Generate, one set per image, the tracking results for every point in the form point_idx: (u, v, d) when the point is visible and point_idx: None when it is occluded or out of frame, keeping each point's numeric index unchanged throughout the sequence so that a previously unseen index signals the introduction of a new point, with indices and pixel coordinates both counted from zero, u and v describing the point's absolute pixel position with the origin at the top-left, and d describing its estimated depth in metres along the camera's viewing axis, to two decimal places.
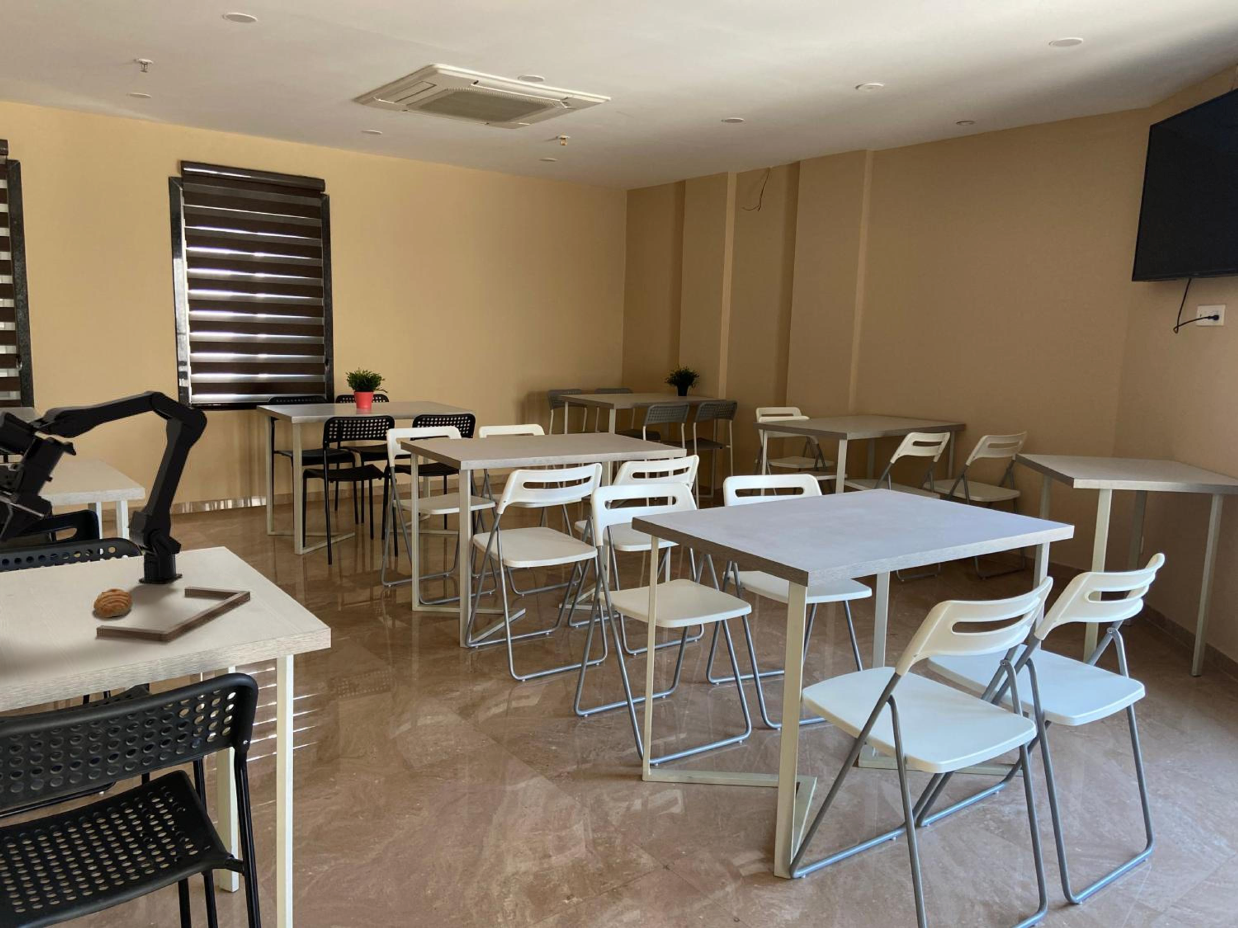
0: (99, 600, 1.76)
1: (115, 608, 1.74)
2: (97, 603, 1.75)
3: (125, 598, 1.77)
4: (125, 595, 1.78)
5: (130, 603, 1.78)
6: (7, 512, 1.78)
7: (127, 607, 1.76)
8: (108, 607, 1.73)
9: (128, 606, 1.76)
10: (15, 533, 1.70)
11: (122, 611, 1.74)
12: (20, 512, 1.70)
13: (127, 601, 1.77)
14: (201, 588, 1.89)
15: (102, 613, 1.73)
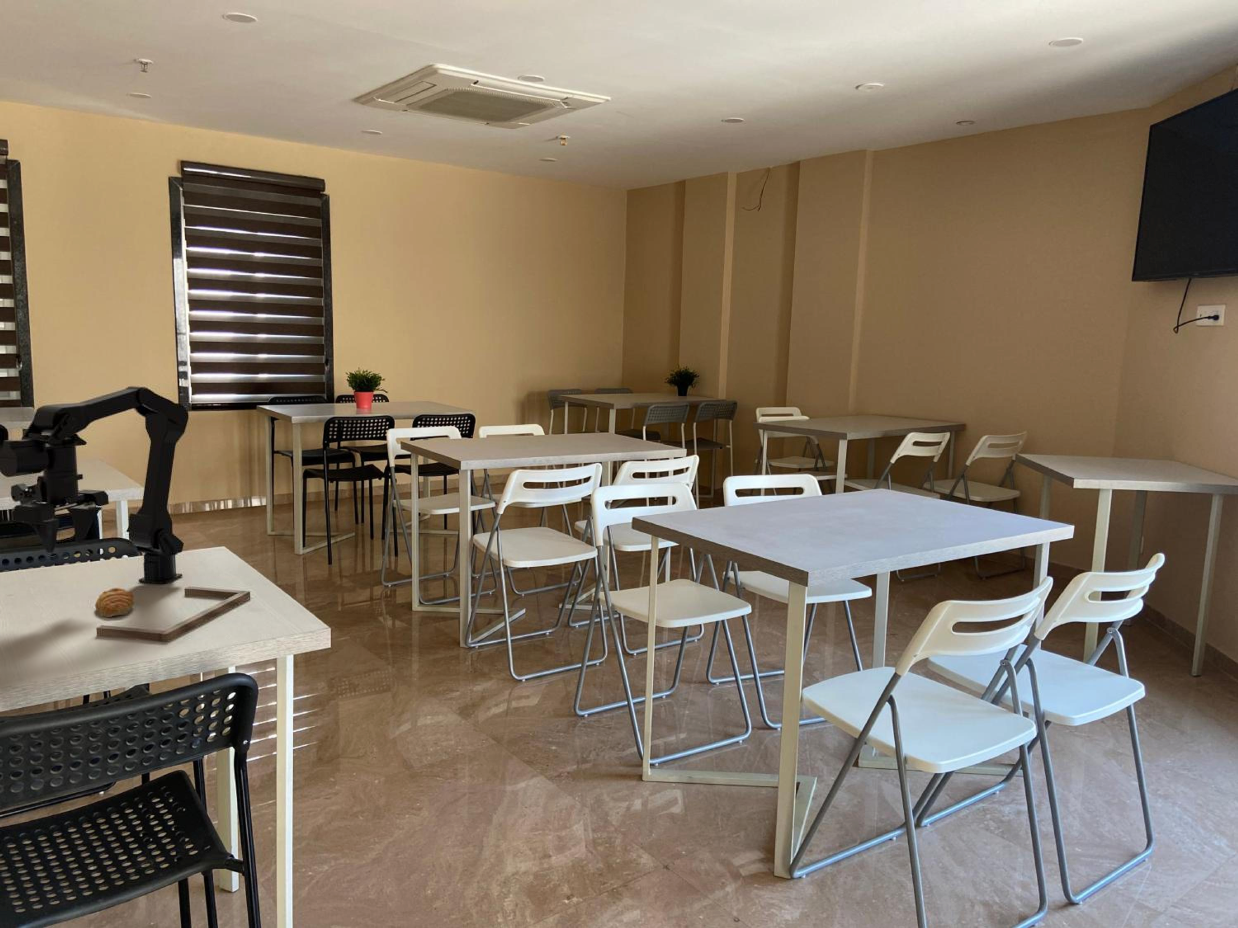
0: (101, 599, 1.76)
1: (117, 607, 1.74)
2: (99, 602, 1.75)
3: (127, 597, 1.77)
4: (127, 594, 1.78)
5: (132, 602, 1.78)
6: (86, 517, 1.81)
7: (129, 606, 1.76)
8: (110, 606, 1.74)
9: (130, 605, 1.77)
10: (50, 542, 1.72)
11: (124, 611, 1.74)
12: None
13: (129, 600, 1.77)
14: (201, 588, 1.89)
15: (105, 613, 1.73)
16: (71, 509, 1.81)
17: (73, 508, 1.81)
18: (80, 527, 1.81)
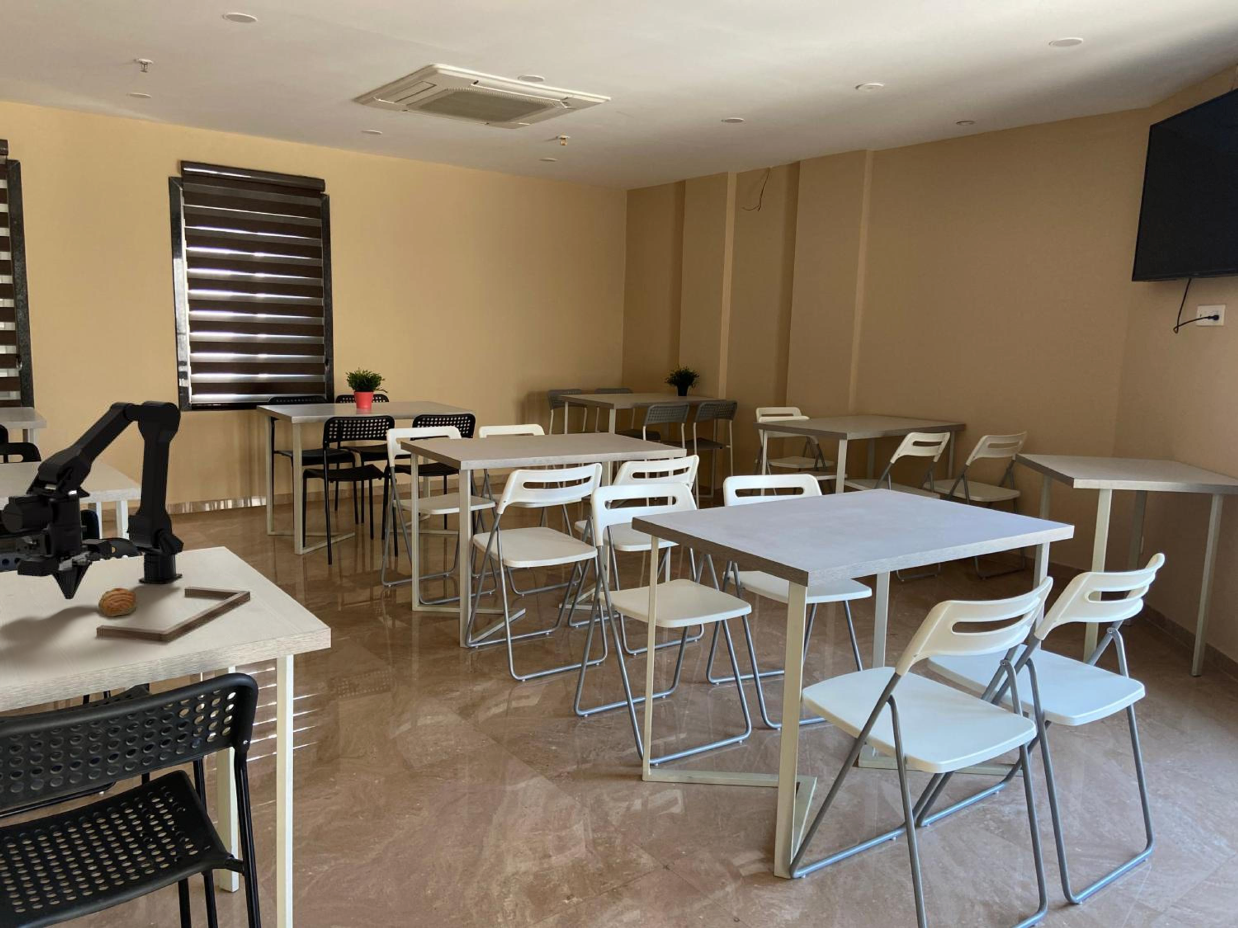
0: (104, 599, 1.76)
1: (121, 607, 1.74)
2: (102, 602, 1.76)
3: (130, 597, 1.78)
4: (130, 594, 1.79)
5: (135, 602, 1.79)
6: (77, 572, 1.79)
7: (133, 606, 1.77)
8: (114, 606, 1.74)
9: (134, 605, 1.77)
10: (69, 589, 1.78)
11: (128, 610, 1.75)
12: None
13: (132, 600, 1.78)
14: (201, 588, 1.89)
15: (109, 612, 1.74)
16: None
17: None
18: None
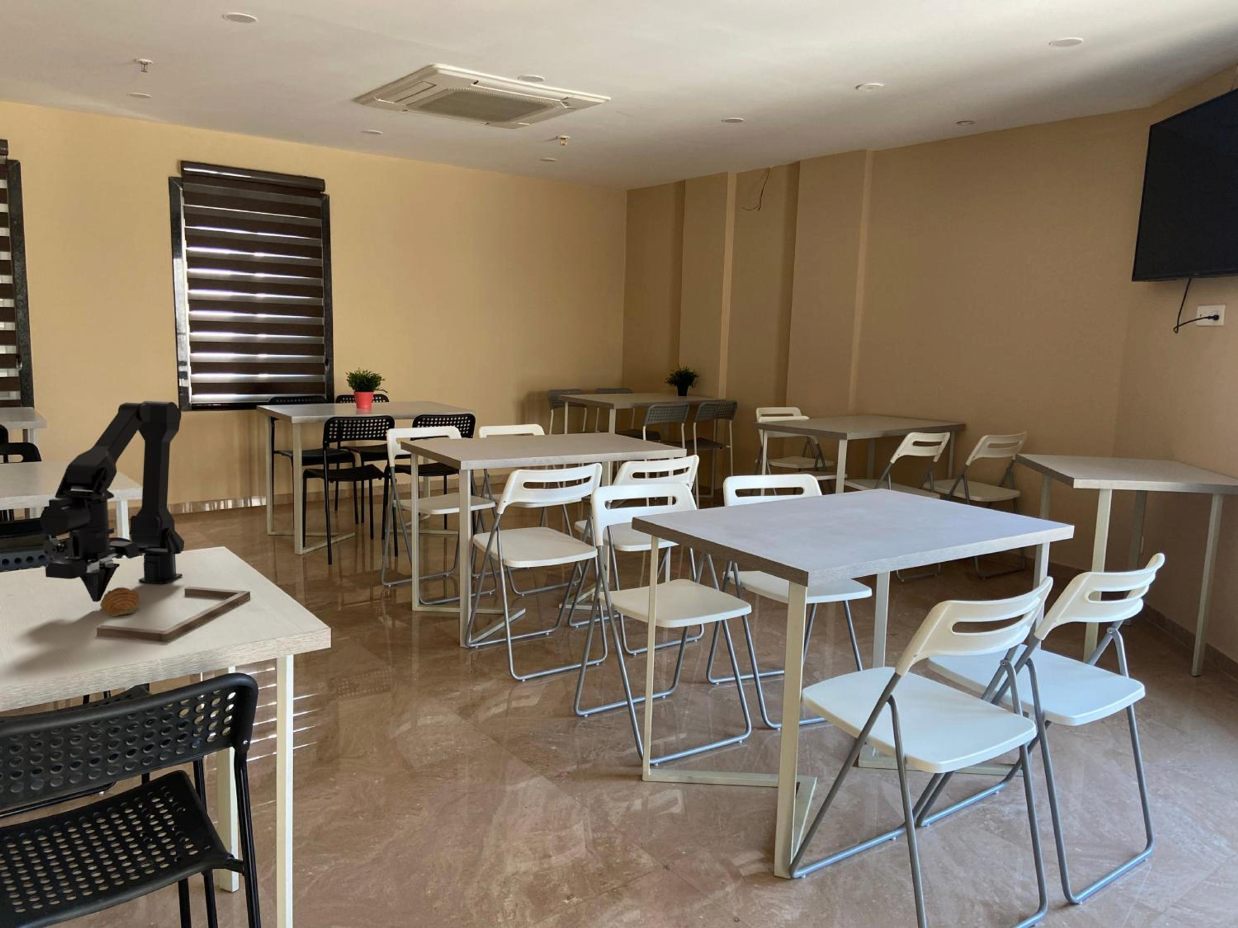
0: (107, 599, 1.76)
1: (124, 606, 1.75)
2: (105, 602, 1.76)
3: (133, 596, 1.78)
4: (132, 593, 1.79)
5: (138, 601, 1.79)
6: (104, 575, 1.78)
7: (135, 605, 1.77)
8: (117, 605, 1.74)
9: (136, 604, 1.77)
10: (96, 592, 1.77)
11: (131, 609, 1.75)
12: None
13: (135, 599, 1.78)
14: (201, 588, 1.89)
15: (111, 612, 1.74)
16: None
17: None
18: None
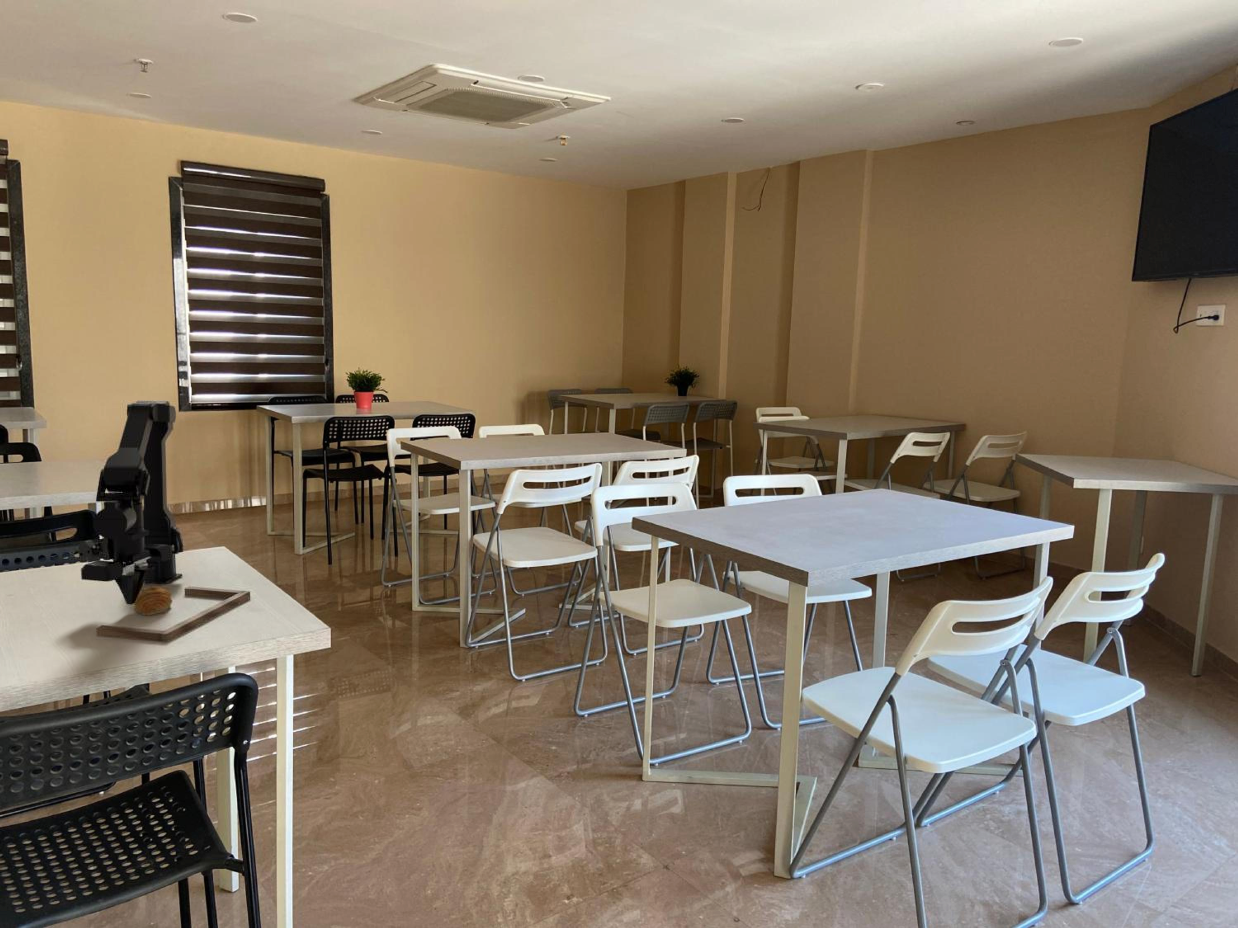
0: (140, 598, 1.78)
1: (156, 606, 1.76)
2: (138, 601, 1.77)
3: (165, 596, 1.79)
4: (165, 593, 1.80)
5: (170, 601, 1.80)
6: (138, 577, 1.76)
7: (167, 605, 1.78)
8: (149, 605, 1.75)
9: (168, 604, 1.78)
10: (131, 594, 1.75)
11: (162, 609, 1.76)
12: None
13: (167, 599, 1.79)
14: (201, 588, 1.89)
15: (143, 611, 1.75)
16: None
17: None
18: None
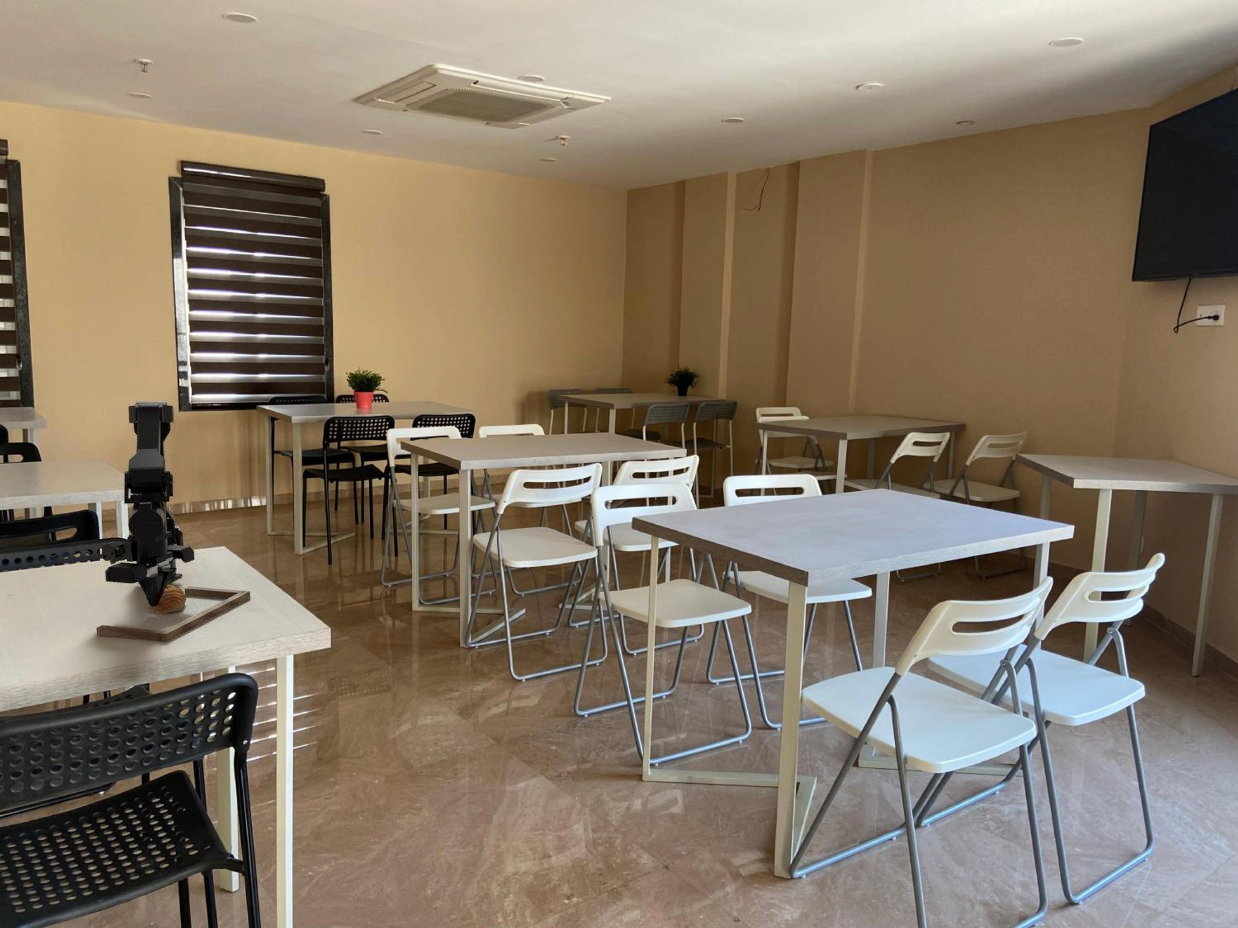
0: None
1: (172, 604, 1.77)
2: None
3: (180, 594, 1.81)
4: (179, 591, 1.81)
5: (184, 599, 1.81)
6: (162, 579, 1.76)
7: (183, 603, 1.79)
8: (165, 603, 1.77)
9: (183, 602, 1.80)
10: (154, 596, 1.75)
11: (179, 607, 1.78)
12: None
13: (182, 597, 1.80)
14: (201, 588, 1.89)
15: (160, 609, 1.76)
16: None
17: None
18: None
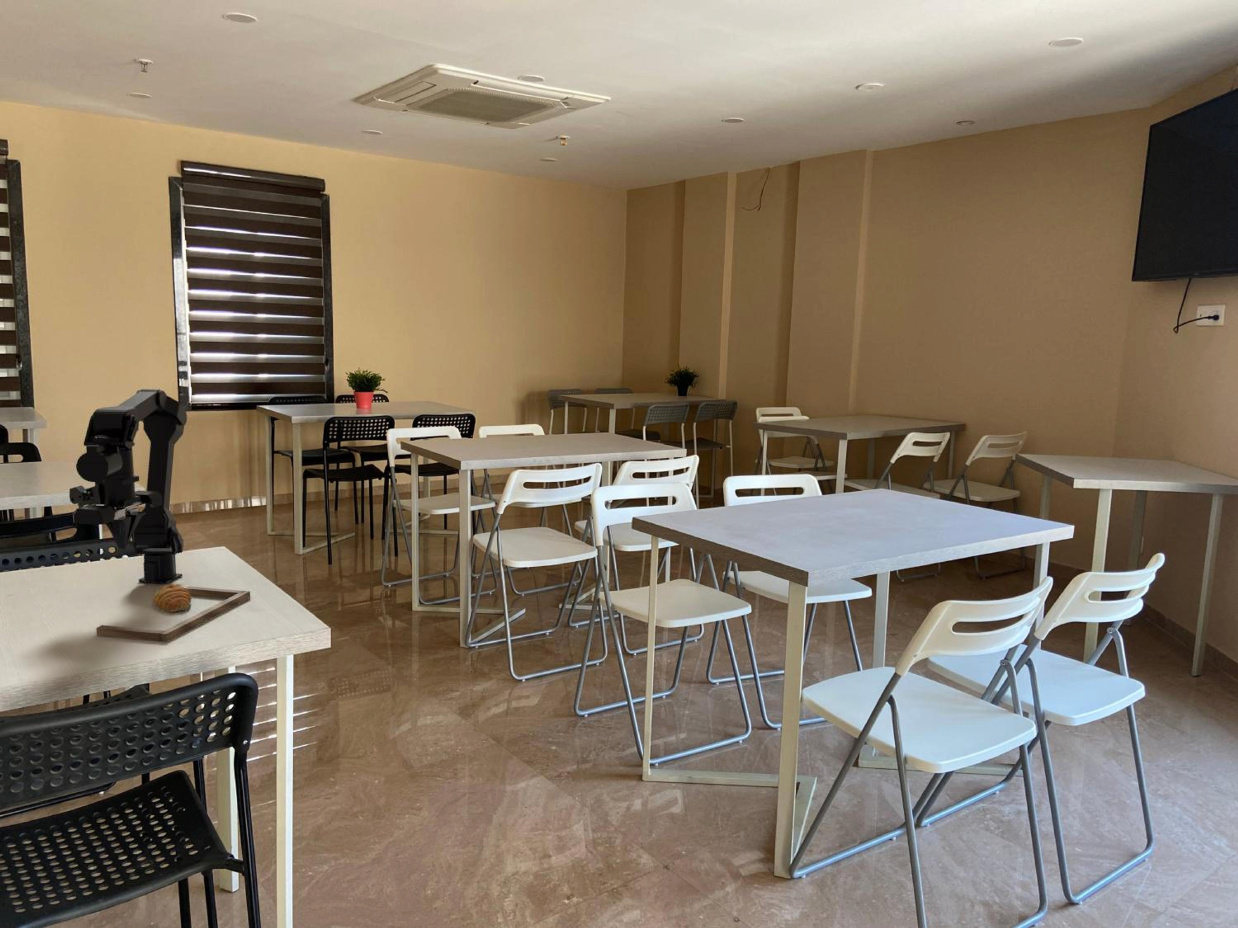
0: (161, 596, 1.79)
1: (179, 602, 1.78)
2: (159, 599, 1.79)
3: (186, 593, 1.82)
4: (184, 590, 1.82)
5: (190, 598, 1.82)
6: (130, 522, 1.79)
7: (189, 601, 1.80)
8: (172, 602, 1.78)
9: (190, 601, 1.81)
10: (122, 539, 1.78)
11: (186, 606, 1.79)
12: None
13: (188, 596, 1.81)
14: (201, 588, 1.89)
15: (167, 608, 1.77)
16: None
17: None
18: None
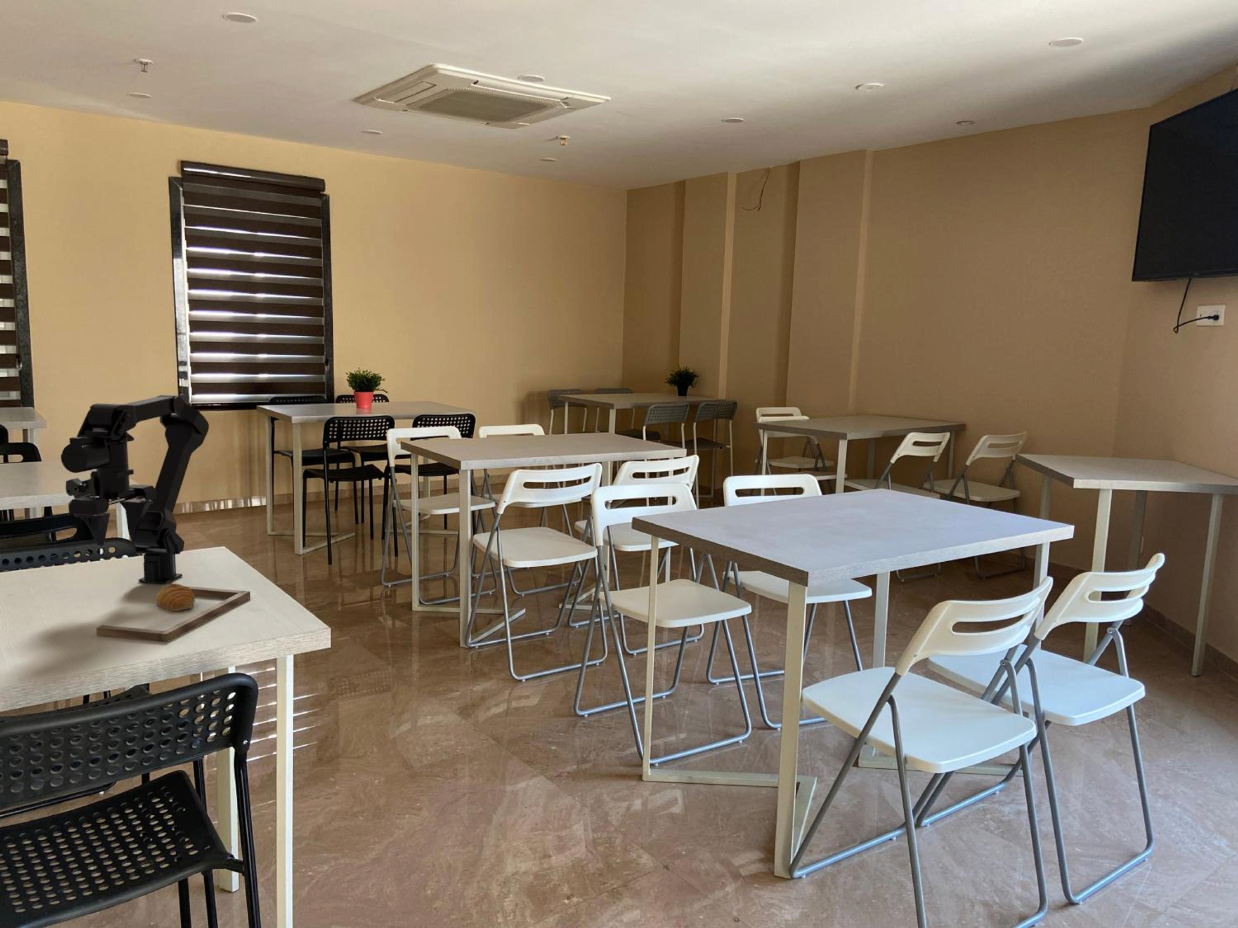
0: (164, 595, 1.80)
1: (184, 601, 1.79)
2: (163, 598, 1.80)
3: (189, 592, 1.82)
4: (188, 589, 1.83)
5: (194, 597, 1.83)
6: (139, 510, 1.88)
7: (193, 600, 1.81)
8: (177, 601, 1.78)
9: (194, 599, 1.82)
10: (101, 535, 1.79)
11: (190, 604, 1.79)
12: None
13: (192, 595, 1.82)
14: (201, 588, 1.89)
15: (172, 607, 1.78)
16: (124, 502, 1.89)
17: (126, 501, 1.89)
18: (133, 520, 1.89)
